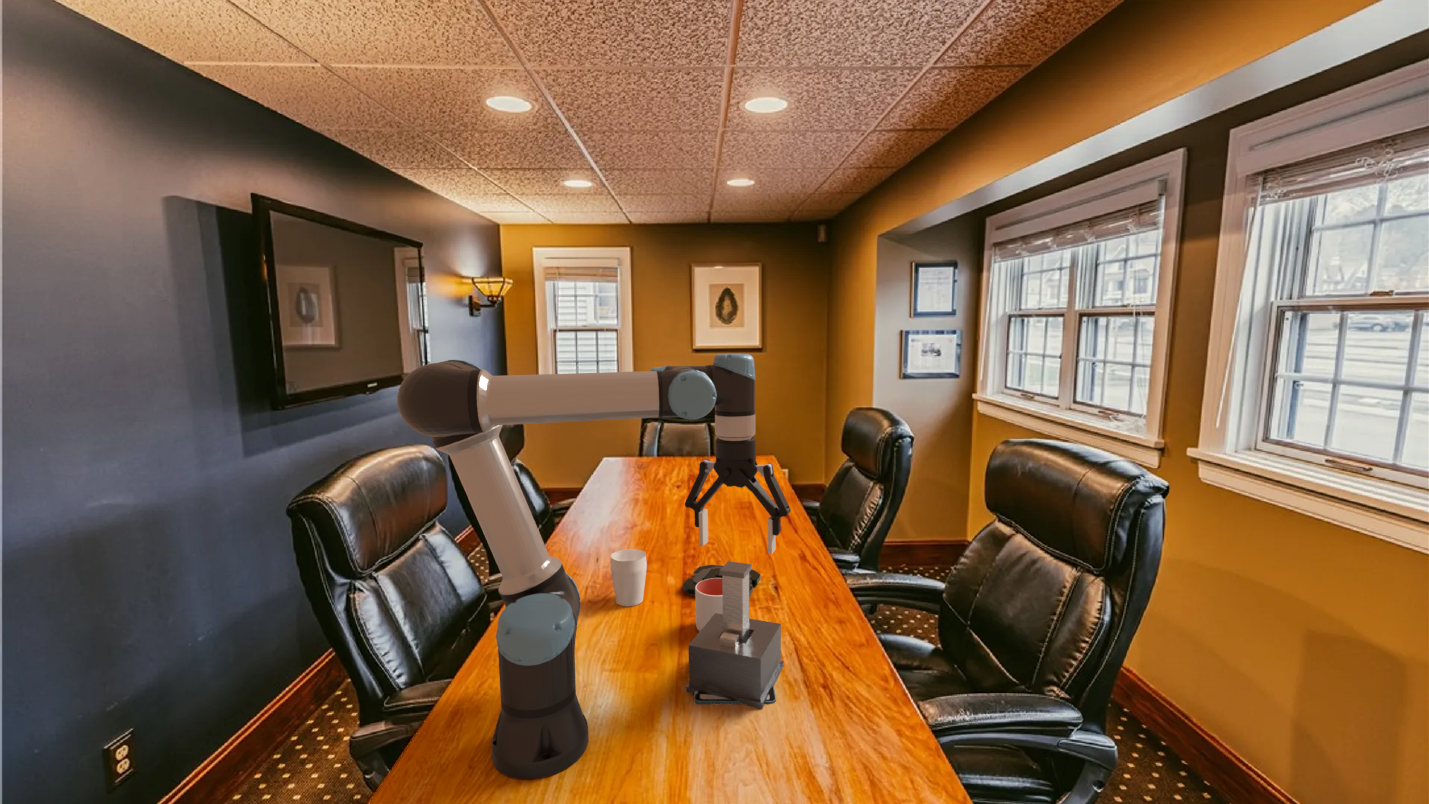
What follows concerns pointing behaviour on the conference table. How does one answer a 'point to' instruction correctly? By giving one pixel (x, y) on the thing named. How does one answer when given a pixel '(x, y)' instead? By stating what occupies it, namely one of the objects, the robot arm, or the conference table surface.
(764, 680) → the housing
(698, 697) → the smartphone
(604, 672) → the conference table surface
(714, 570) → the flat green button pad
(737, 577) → the column
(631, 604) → the cup
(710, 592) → the cup
